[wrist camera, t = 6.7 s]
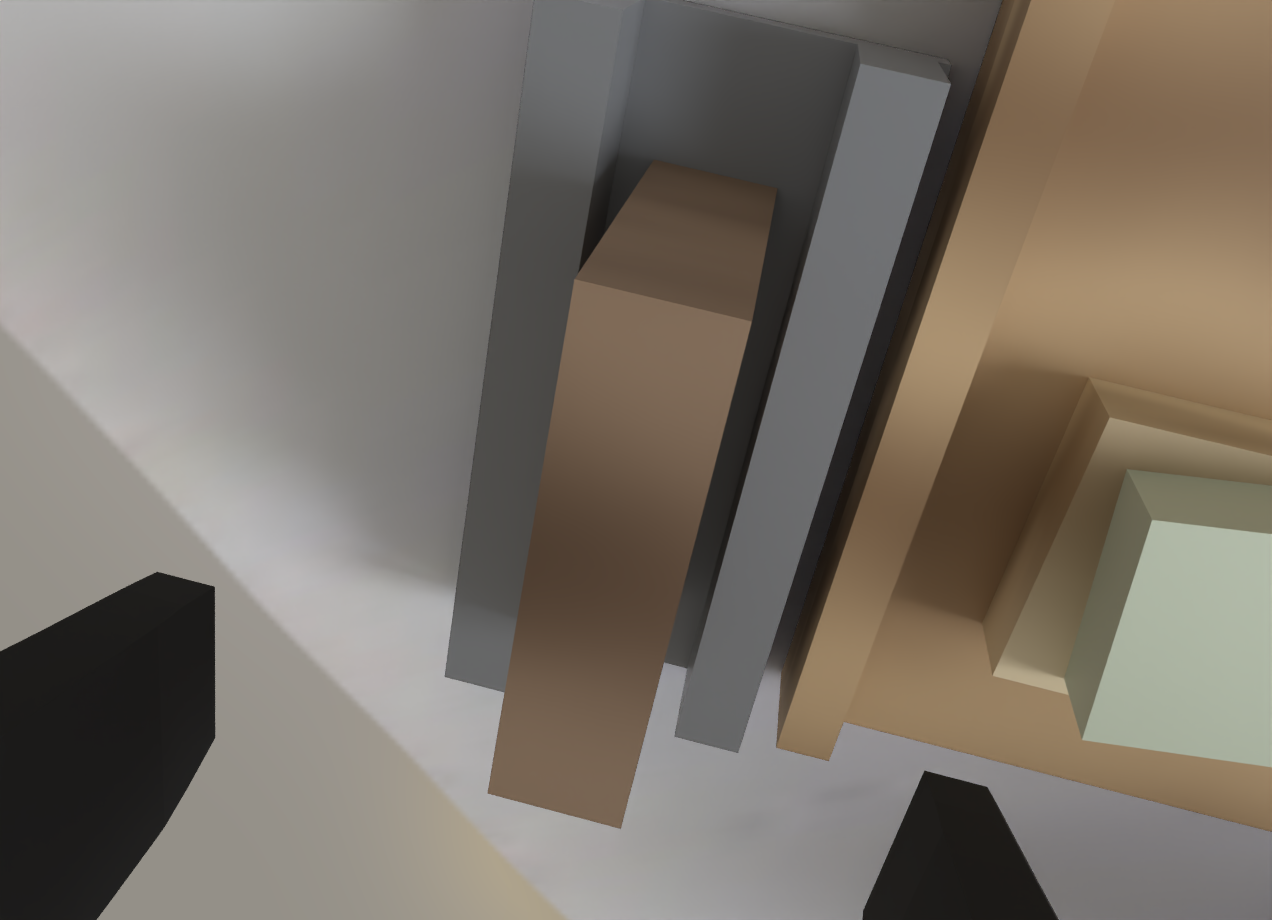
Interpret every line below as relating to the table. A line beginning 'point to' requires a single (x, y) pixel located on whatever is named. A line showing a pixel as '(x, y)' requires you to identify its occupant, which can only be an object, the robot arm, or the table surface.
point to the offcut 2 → (1180, 622)
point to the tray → (1046, 369)
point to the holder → (784, 310)
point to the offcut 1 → (1102, 513)
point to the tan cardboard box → (626, 483)
